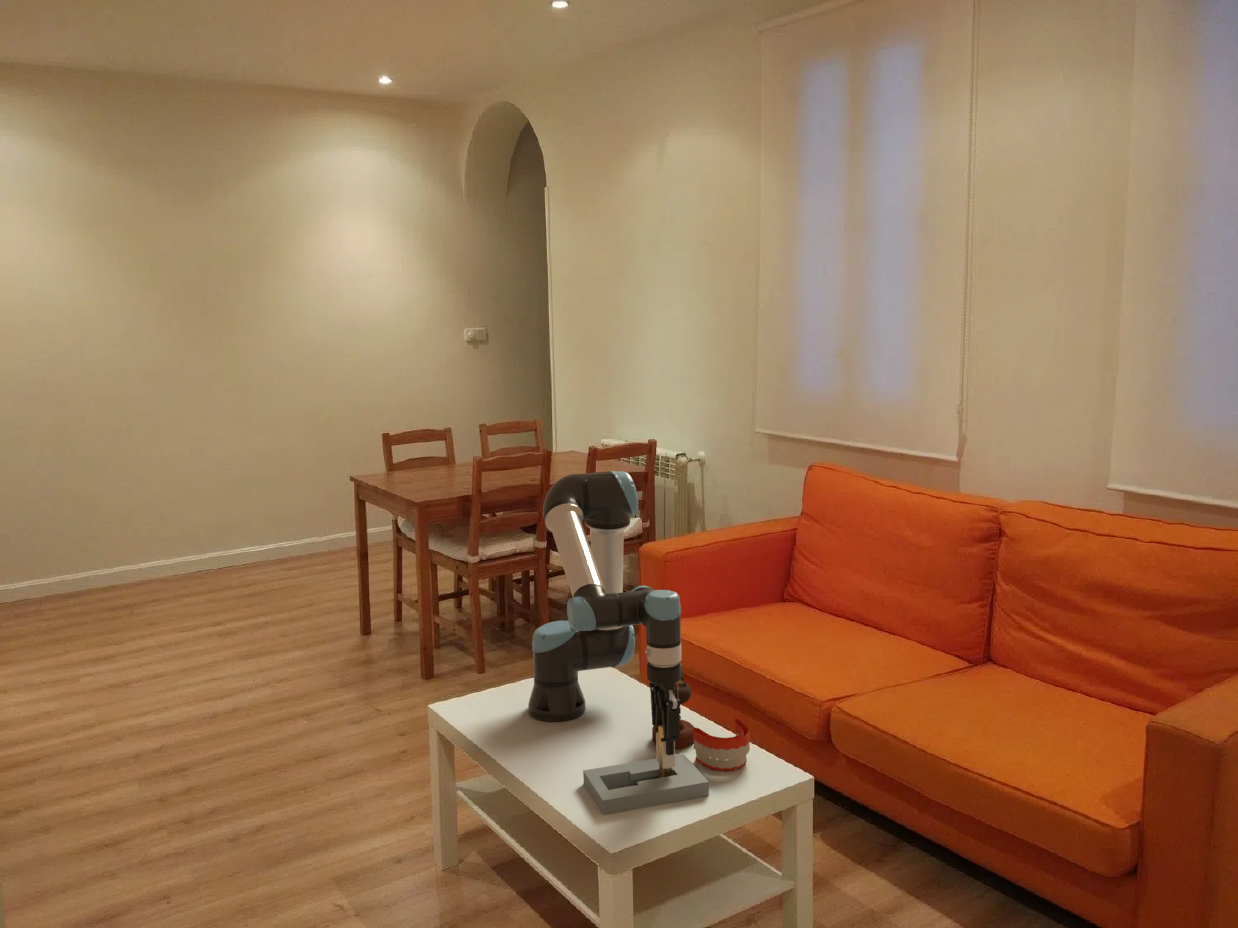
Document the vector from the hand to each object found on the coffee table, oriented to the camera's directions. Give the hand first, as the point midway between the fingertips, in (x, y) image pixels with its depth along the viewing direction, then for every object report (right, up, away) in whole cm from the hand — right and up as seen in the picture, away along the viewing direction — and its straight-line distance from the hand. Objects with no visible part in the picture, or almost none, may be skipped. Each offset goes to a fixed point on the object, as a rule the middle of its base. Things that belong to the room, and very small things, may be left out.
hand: (665, 763), depth 224 cm
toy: (+15, -4, +11) cm, 19 cm away
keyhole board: (-5, -6, -1) cm, 7 cm away
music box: (+3, -2, +25) cm, 25 cm away
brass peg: (0, -5, +1) cm, 5 cm away
